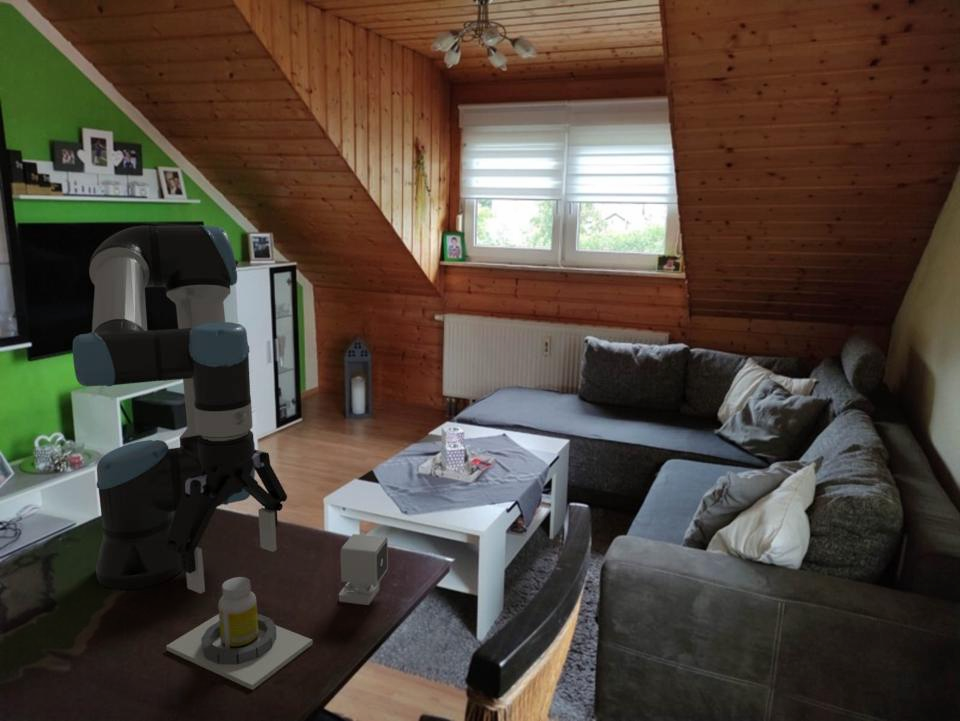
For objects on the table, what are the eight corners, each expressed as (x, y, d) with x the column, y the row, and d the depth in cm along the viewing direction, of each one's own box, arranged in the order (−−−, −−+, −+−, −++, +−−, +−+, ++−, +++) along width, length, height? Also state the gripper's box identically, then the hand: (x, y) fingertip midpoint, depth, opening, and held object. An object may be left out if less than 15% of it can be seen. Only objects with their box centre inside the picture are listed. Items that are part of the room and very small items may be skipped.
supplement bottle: (266, 637, 106) (262, 579, 104) (240, 657, 102) (236, 596, 99) (239, 628, 109) (235, 571, 107) (213, 647, 104) (208, 588, 102)
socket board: (166, 650, 104) (165, 636, 104) (229, 611, 115) (228, 598, 114) (252, 690, 96) (251, 674, 95) (312, 644, 106) (311, 630, 106)
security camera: (376, 607, 116) (375, 552, 114) (337, 602, 118) (335, 548, 115) (388, 588, 122) (387, 535, 120) (351, 583, 124) (349, 531, 122)
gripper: (165, 466, 86) (179, 618, 91) (306, 414, 107) (311, 539, 112) (127, 454, 89) (142, 601, 94) (271, 406, 110) (277, 528, 115)
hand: (234, 568), depth 103 cm, fingers open, 13 cm apart
